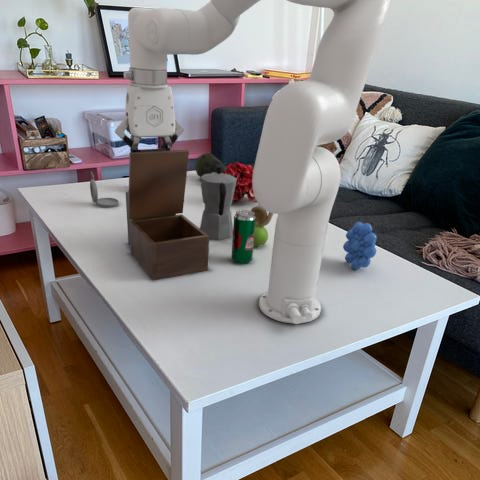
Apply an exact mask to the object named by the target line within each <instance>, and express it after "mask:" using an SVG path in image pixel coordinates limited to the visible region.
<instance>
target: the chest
mask: <svg viewBox="0 0 480 480" xmlns="http://www.w3.org/2000/svg"><path fill="white" fill-rule="evenodd" d="M129 231H130V245H129V247H130V255H131V257H133V259H134V260H135V261H136V262H137V263H138V264H139V266H140V267H141V268H142V269H143V271H144V272H145V273H146V274H147V275H148V276H149V277H150V278H151V280H152V281H156V280H162V279H168V278H173V277H179V276H185V275H190V274H191V275H192V274H196V273H201V272H202V273H203V272H207V271H209V251H210V239H209V236H208V235H207V234H206V233H205V232H203V231H202V230H201V229H200V227H198V226H197V225H196V224H194V222H192V221H191V220H190V219H188V218H187V217H186V216H185V215H183V213H180V214H176V215H172V216H164V217H155V218H147V219H138V220H130V221H129Z"/></svg>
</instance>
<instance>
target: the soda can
mask: <svg viewBox="0 0 480 480" xmlns="http://www.w3.org/2000/svg"><path fill="white" fill-rule="evenodd" d="M255 223H256V217H255V213H254V212H253V211H251V209H250V210H249V209H238V210H236V211H235V213H234V216H233V223H232V225H233V234H232V241H231V255H230V256H231V257H230V259H231V261H233V262H234V263H235V264H238V265H247V264H250V263H251V262H252V261H253V256H254V255H253V254H254V246H253V245H254V234H255Z"/></svg>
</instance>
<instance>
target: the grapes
mask: <svg viewBox="0 0 480 480" xmlns="http://www.w3.org/2000/svg"><path fill="white" fill-rule="evenodd" d="M372 231H373V226H372V225H371V224H370V223H369V222H367V223H364V222H362V221H356V222H355V223H354V224H353V226H352V228H350V229H349V230H347V232H346V234H345V238H346V241H345V242H344V243H343V245H342V248H343V250H344V252H346V254H345V256H344V259H345V261H346V263H347V264H350V267H351V268H352V269H353V270H356V271H357V270H360V269H361V268H363V269H364V268H367V267H369V266H370V264H371V261H372V260H371V259H372V258H374V257H375V256H376V254H377V249H376V243H377V241H378V236H377V234H375V233H374V232H372Z"/></svg>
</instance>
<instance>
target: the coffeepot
mask: <svg viewBox="0 0 480 480" xmlns="http://www.w3.org/2000/svg"><path fill="white" fill-rule="evenodd" d="M222 168H223V167H221V166H216V170H217V173H215V172H212V173H211V174H204V175H203V176H202V177H200V176H199V179H200V187H201V196H202V203H203V204H204V209H203V211H202V216H201V220H200V226H199V228H200V229H201V230H202V231H203V232H205V233H206V234H207V235H208V236H209V240H211V241H212V240H213V241H225V240H229V239H230V238H232V237H233V216H232V211H231V205H232V204H233V202H232V201H233V196H234V191H235V186H236V181H237V178H235V177H233V176H231V175H228V174H223V173H221V172H222Z"/></svg>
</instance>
